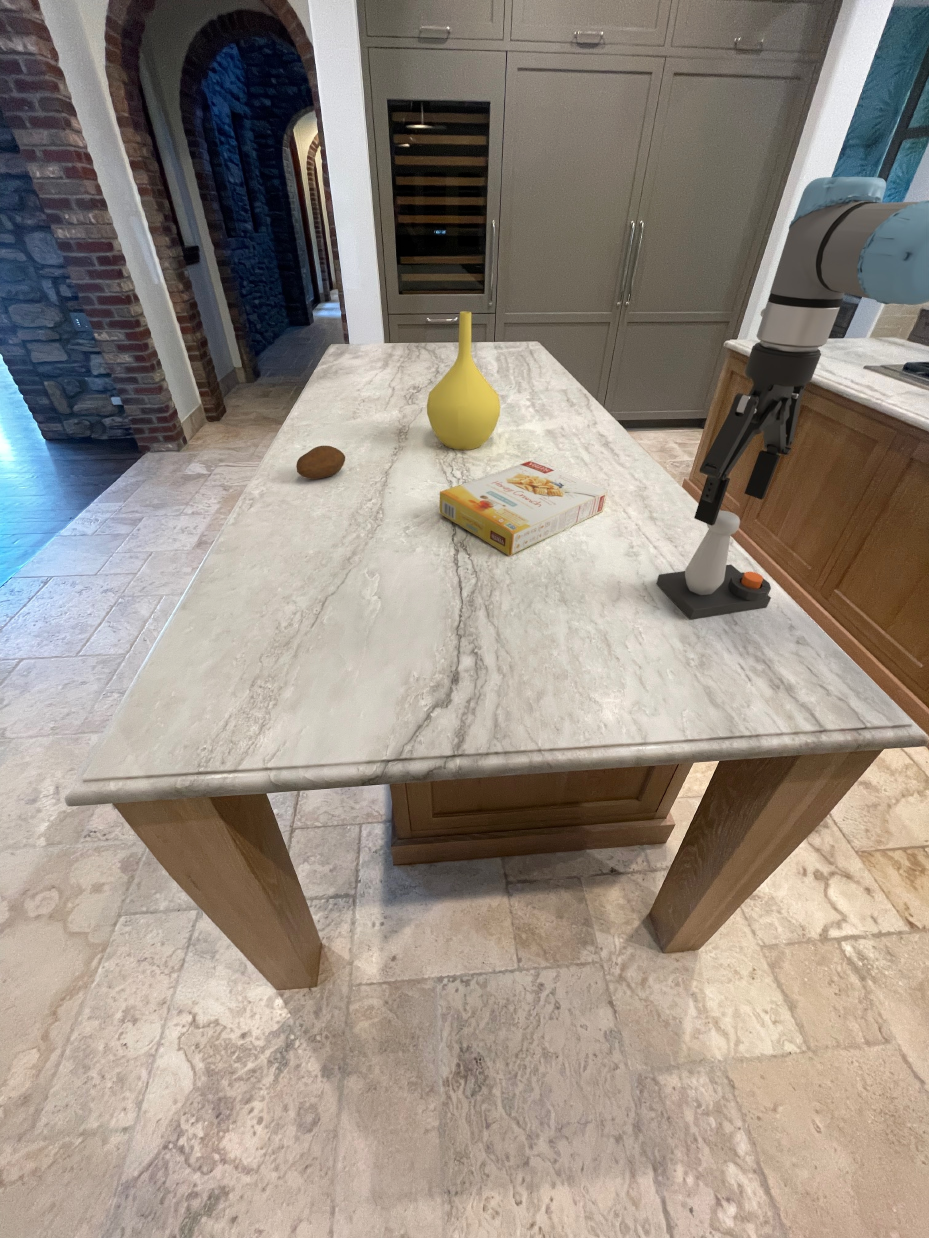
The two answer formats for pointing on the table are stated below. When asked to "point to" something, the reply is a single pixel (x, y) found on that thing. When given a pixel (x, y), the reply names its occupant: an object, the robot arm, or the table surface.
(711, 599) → the scale
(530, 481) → the cereal box
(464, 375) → the vase
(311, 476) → the potato
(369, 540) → the table surface
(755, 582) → the button
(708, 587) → the salt shaker
